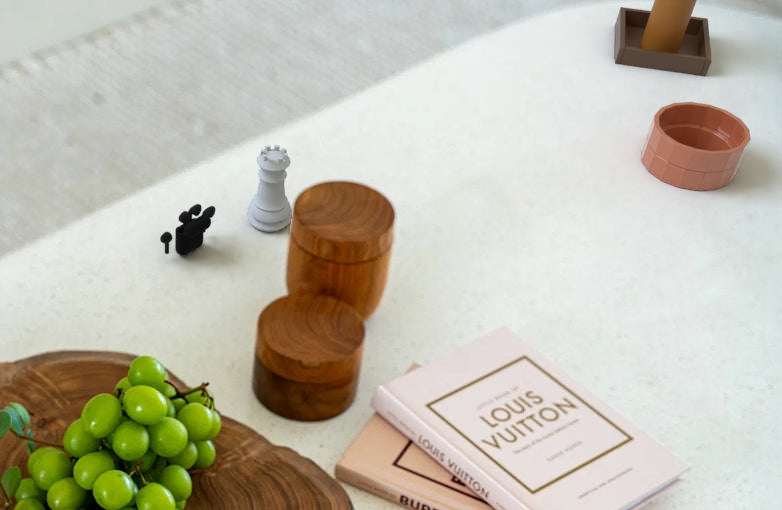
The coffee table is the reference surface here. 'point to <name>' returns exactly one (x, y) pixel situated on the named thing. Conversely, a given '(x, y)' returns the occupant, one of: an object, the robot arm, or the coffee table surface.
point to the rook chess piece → (270, 192)
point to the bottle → (667, 25)
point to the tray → (687, 60)
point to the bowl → (695, 146)
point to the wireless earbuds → (189, 230)
